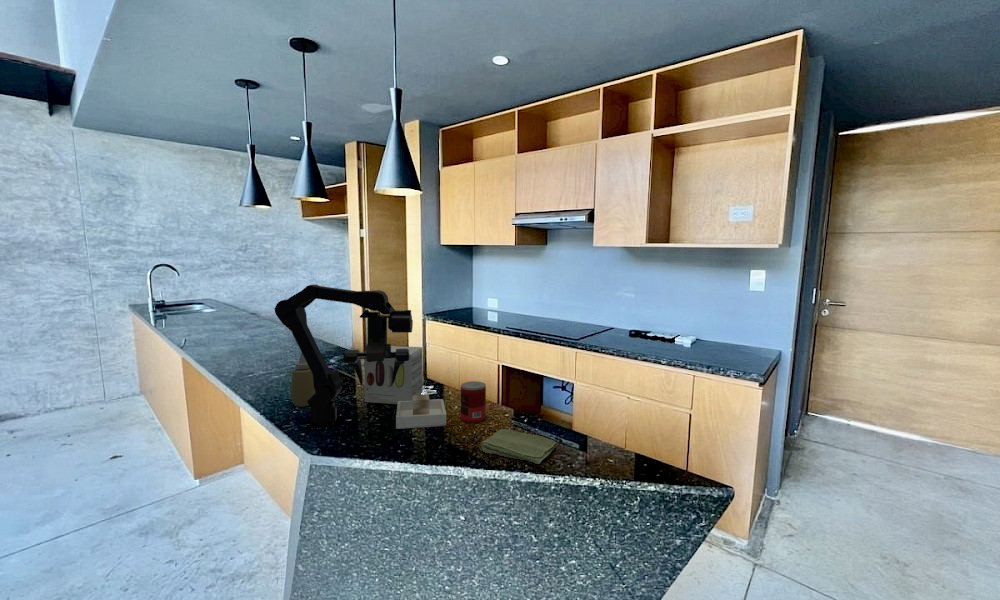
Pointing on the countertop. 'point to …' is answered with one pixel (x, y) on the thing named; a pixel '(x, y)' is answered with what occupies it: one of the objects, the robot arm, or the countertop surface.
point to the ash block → (420, 404)
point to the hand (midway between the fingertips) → (377, 383)
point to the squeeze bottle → (302, 383)
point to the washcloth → (518, 445)
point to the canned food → (473, 401)
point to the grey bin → (414, 421)
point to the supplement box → (405, 381)
